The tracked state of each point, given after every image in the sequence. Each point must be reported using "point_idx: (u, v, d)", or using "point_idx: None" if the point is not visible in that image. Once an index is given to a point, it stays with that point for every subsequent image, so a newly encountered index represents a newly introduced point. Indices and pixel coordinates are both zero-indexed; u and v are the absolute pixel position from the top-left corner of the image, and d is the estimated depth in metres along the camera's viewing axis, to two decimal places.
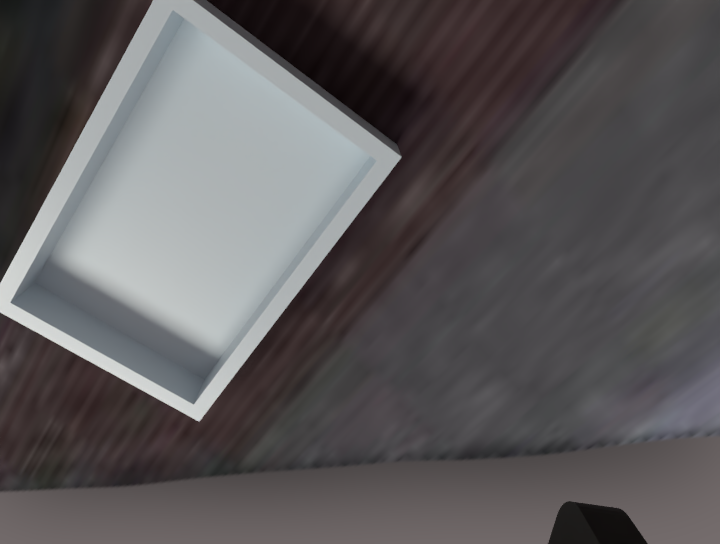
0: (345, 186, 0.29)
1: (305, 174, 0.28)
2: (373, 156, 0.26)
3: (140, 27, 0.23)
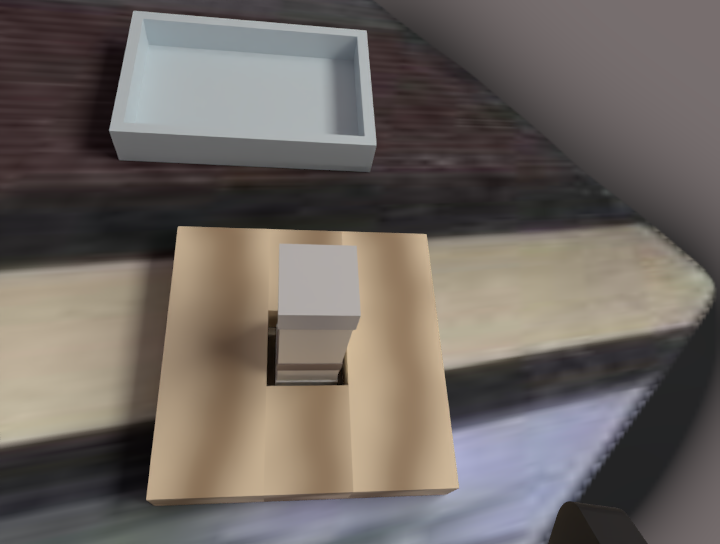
0: (179, 48, 0.46)
1: (185, 66, 0.45)
2: (141, 20, 0.43)
3: (143, 131, 0.38)
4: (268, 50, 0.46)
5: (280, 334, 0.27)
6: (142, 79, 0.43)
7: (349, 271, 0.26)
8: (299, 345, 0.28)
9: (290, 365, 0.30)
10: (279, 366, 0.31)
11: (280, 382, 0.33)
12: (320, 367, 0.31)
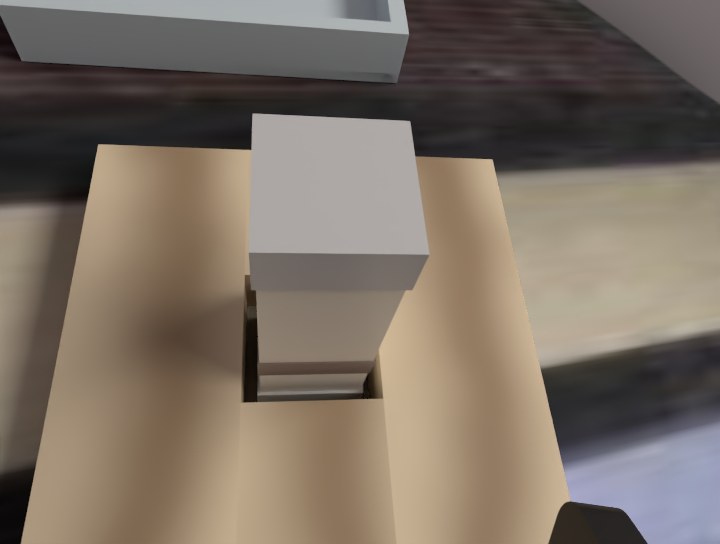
0: None
1: None
2: None
3: (50, 7, 0.25)
4: None
5: (258, 303, 0.13)
6: None
7: (398, 167, 0.13)
8: (296, 326, 0.15)
9: (281, 364, 0.17)
10: (262, 368, 0.17)
11: (266, 395, 0.19)
12: (335, 369, 0.18)
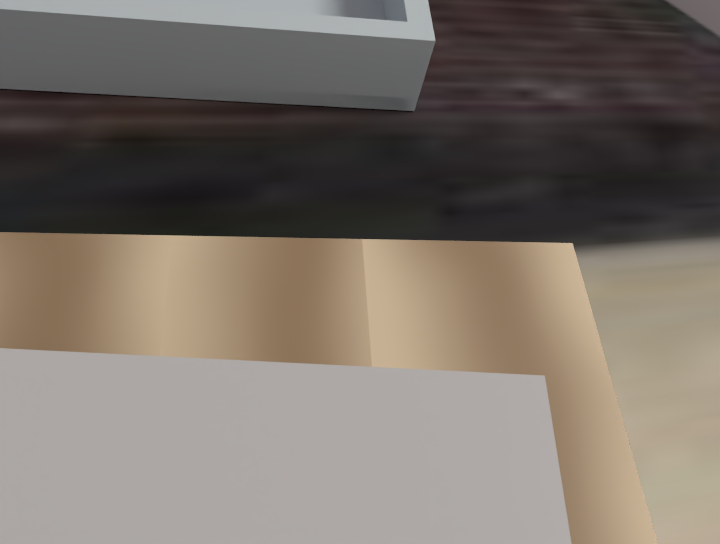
0: None
1: None
2: None
3: None
4: None
5: None
6: None
7: None
8: None
9: None
10: None
11: None
12: None
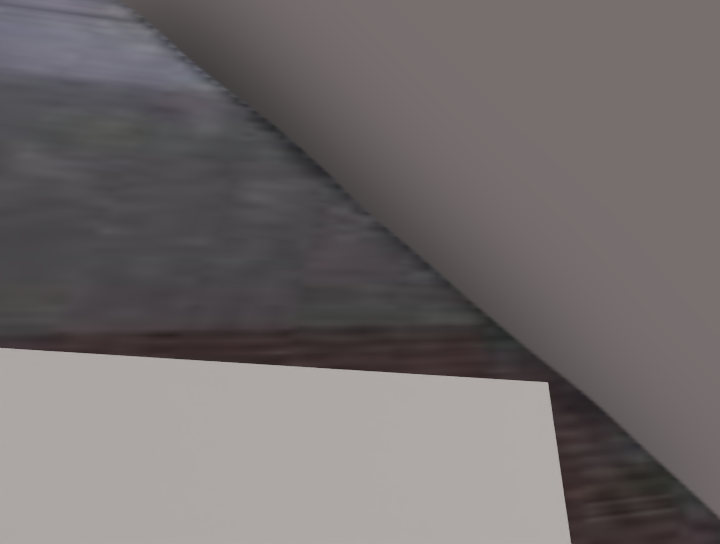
0: None
1: None
2: None
3: None
4: None
5: None
6: None
7: None
8: None
9: None
10: None
11: None
12: None
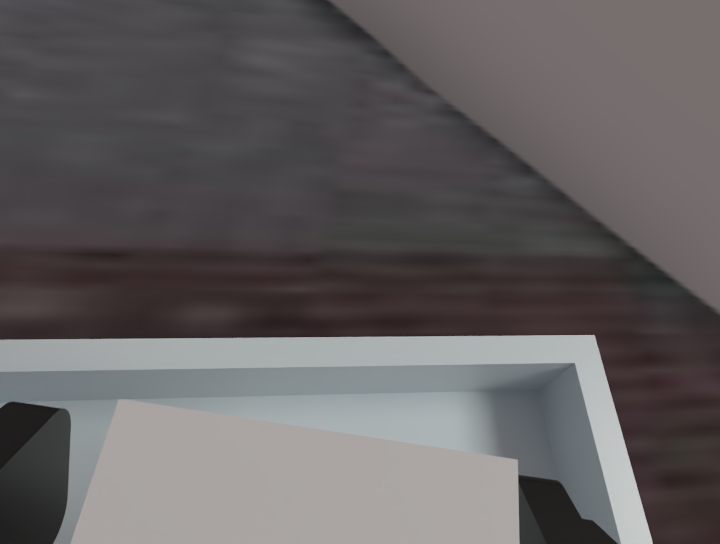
0: (46, 404, 0.15)
1: None
2: None
3: None
4: (310, 391, 0.16)
5: None
6: None
7: None
8: None
9: None
10: None
11: None
12: None
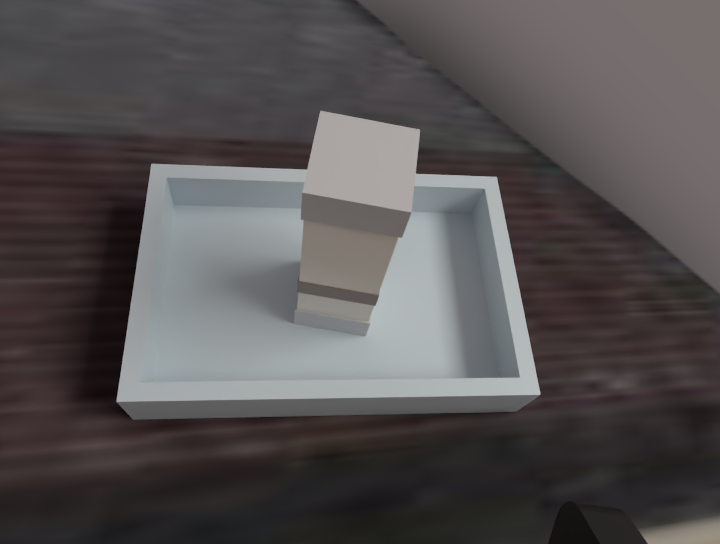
0: (218, 207, 0.31)
1: (229, 239, 0.30)
2: (164, 181, 0.28)
3: (172, 399, 0.23)
4: None
5: (304, 231, 0.21)
6: (166, 269, 0.28)
7: (405, 157, 0.20)
8: (326, 254, 0.22)
9: (313, 285, 0.24)
10: (300, 287, 0.25)
11: (301, 312, 0.27)
12: (351, 297, 0.25)
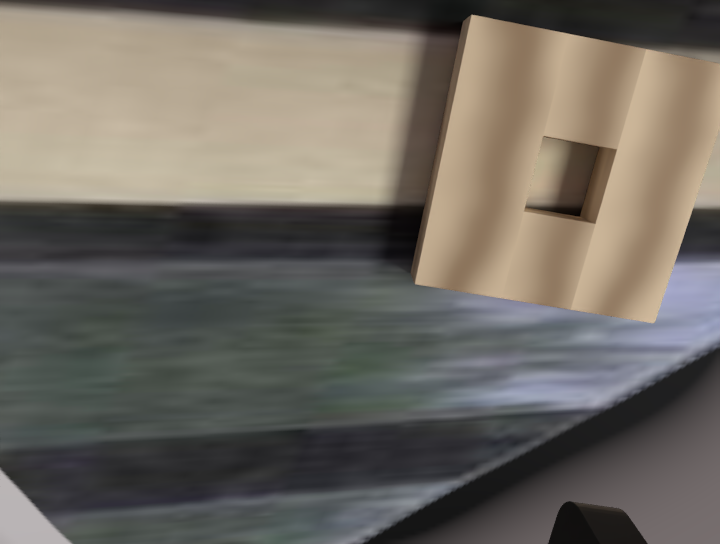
0: None
1: None
2: None
3: None
4: None
5: None
6: None
7: None
8: None
9: None
10: None
11: None
12: None
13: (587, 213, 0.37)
